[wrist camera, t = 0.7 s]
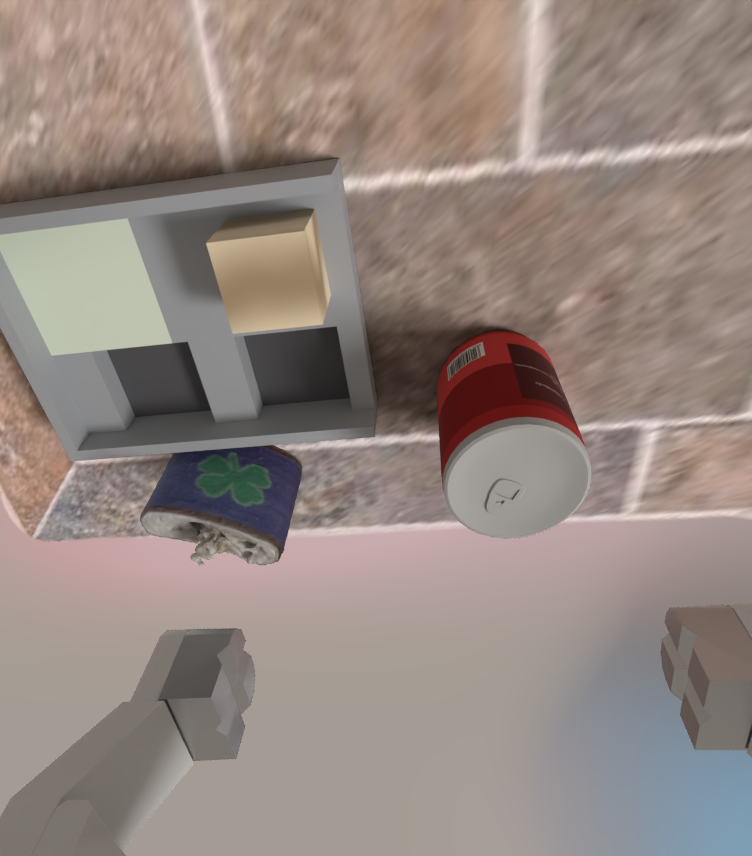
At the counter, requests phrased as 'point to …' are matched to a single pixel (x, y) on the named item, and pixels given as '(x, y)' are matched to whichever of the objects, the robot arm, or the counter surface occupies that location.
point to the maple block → (271, 271)
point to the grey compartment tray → (179, 319)
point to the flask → (227, 501)
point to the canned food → (508, 438)
